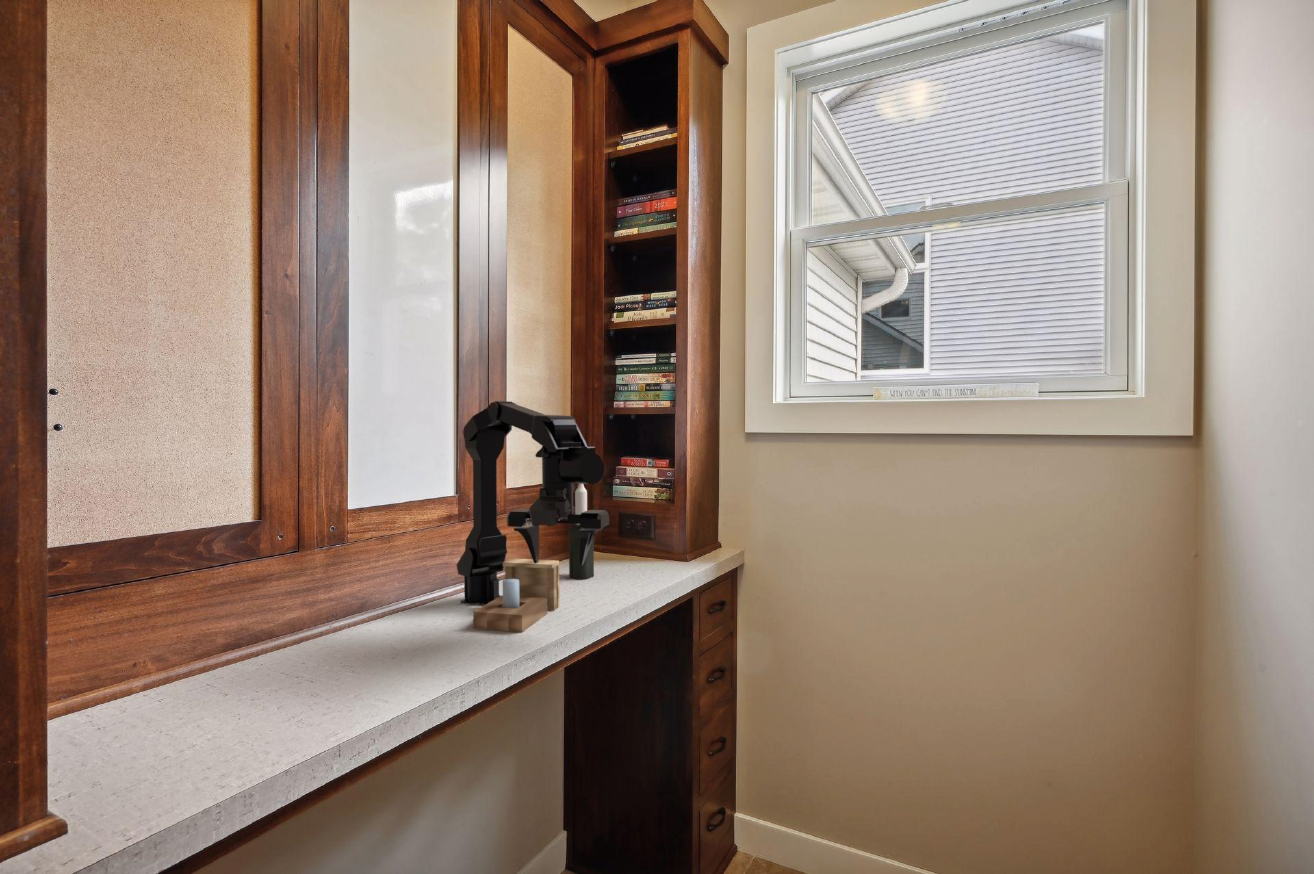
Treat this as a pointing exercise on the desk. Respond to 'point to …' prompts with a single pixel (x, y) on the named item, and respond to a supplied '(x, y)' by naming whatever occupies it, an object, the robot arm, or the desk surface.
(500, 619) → the socket station
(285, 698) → the desk surface
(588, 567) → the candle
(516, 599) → the peg
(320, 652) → the desk surface
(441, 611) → the desk surface
